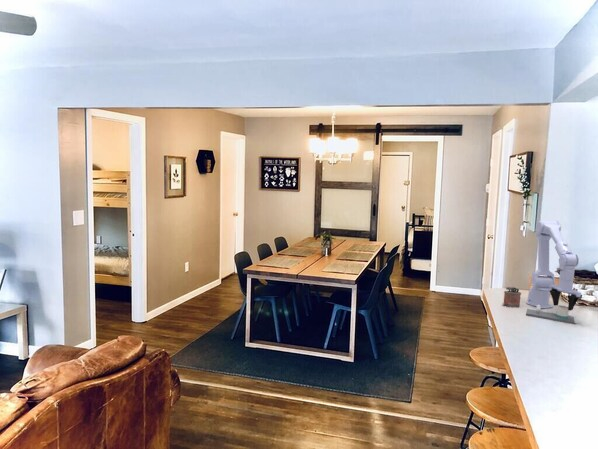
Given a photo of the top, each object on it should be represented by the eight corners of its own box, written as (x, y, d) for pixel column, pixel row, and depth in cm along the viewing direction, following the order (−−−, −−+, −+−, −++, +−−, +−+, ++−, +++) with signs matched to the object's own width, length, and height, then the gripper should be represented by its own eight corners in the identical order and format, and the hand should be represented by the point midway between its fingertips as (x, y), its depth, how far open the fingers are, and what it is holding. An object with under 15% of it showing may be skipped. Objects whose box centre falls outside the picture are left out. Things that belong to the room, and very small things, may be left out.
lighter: (518, 305, 239) (520, 286, 238) (520, 307, 236) (522, 288, 235) (501, 304, 240) (503, 285, 239) (504, 306, 237) (506, 287, 235)
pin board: (525, 315, 223) (526, 305, 223) (527, 310, 231) (528, 301, 230) (574, 323, 213) (575, 313, 213) (573, 318, 221) (575, 308, 221)
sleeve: (553, 315, 221) (554, 305, 220) (560, 315, 223) (561, 304, 222) (562, 319, 217) (564, 308, 216) (570, 318, 218) (571, 307, 218)
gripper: (546, 276, 222) (543, 303, 224) (574, 283, 209) (571, 313, 211) (556, 275, 225) (553, 302, 227) (585, 282, 212) (581, 311, 214)
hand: (562, 307), depth 219 cm, fingers open, 7 cm apart
